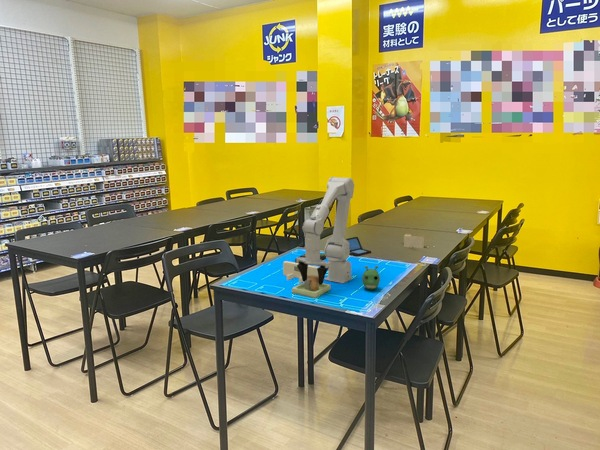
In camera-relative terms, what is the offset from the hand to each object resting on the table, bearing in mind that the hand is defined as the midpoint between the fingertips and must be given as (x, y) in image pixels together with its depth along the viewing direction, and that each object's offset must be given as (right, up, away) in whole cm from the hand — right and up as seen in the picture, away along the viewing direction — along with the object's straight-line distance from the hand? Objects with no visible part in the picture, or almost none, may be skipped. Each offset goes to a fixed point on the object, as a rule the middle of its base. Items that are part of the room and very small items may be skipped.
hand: (312, 282), depth 180 cm
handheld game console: (+25, +8, +59) cm, 65 cm away
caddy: (-1, -3, 0) cm, 3 cm away
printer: (-5, 0, +16) cm, 17 cm away
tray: (-1, -4, 0) cm, 4 cm away
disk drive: (0, +5, +45) cm, 45 cm away
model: (+59, +10, +71) cm, 93 cm away
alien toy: (+24, -3, +2) cm, 24 cm away
